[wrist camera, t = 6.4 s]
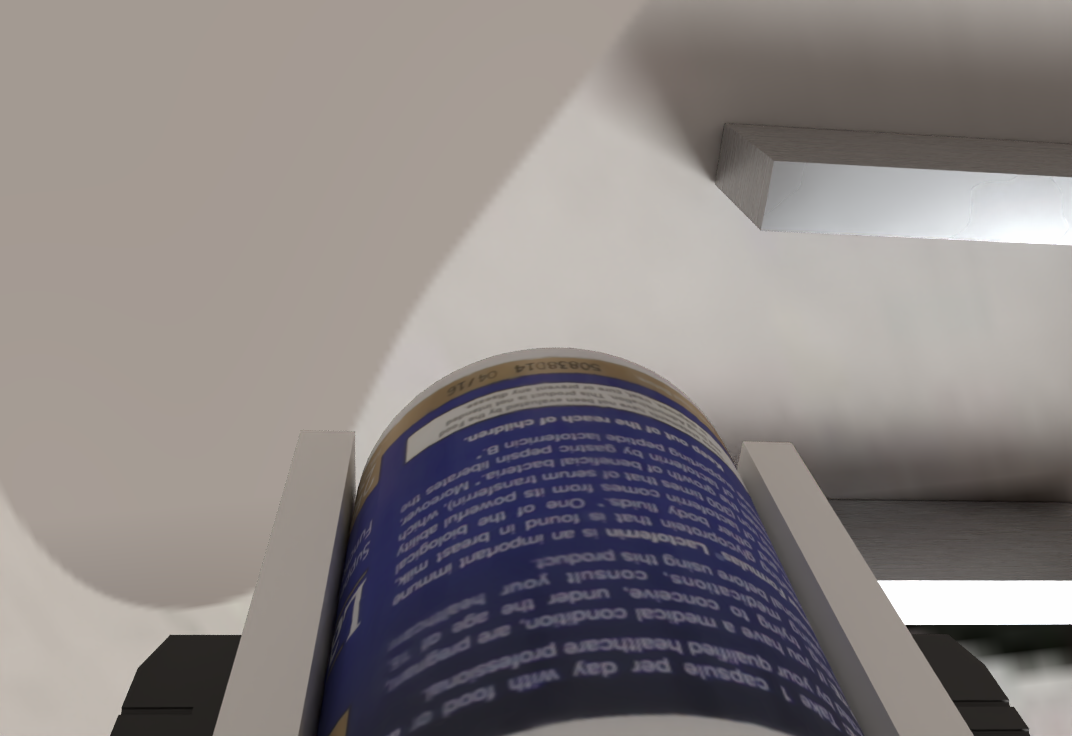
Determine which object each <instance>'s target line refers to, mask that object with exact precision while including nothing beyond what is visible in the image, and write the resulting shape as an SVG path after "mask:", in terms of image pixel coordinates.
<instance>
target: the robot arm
mask: <svg viewBox="0 0 1072 736" xmlns="http://www.w3.org/2000/svg"><path fill="white" fill-rule="evenodd" d="M737 471H738V473H739V475H740V477H741V479H742V481H743V482H744V484H745V486H746V488H747V490H748V492H749V495H750V497H751V499H752V502H753V504H754V506H755V508H756V511H757V513H758V515H759V517H760V519H761V521H762V524H763V526H764V528H765V530H766V532H767V534H768V537H769V539H770V541H771V543H772V545H773V547H774V549H775V551H776V554H777V556H778V558H779V560H780V562H781V564H782V566H783V568H784V570H785V572H786V575H787V577H788V579H789V581H790V583H791V585H792V587H793V589H794V592H795V594H796V596H797V598H798V600H799V602H800V604H801V607H802V609H803V611H804V613H805V615H806V617H807V619H808V621H809V623H810V625H811V627H812V629H813V631H814V633H815V635H816V638H817V640H818V642H819V644H820V647H821V649H822V651H823V653H824V655H825V657H826V659H827V661H828V663H829V665H830V667H831V669H832V671H833V673H834V675H835V677H836V679H837V681H838V683H839V685H840V688H841V690H842V692H843V694H844V696H845V698H846V700H847V702H848V704H849V707H850V709H851V711H852V713H853V715H854V716H855V718H856V720H857V722H858V724H859V726H860V727H861V729H862V731H863V734H864V736H1030V734H1029V728H1028V727H1027V725H1026V724H1025V722H1024V721H1023V719H1022V718H1021V717H1020V715H1019V714H1018V712H1017V711H1016V709H1015V708H1014V707H1010V706H1009V699H1008V698H1007V696H1006V695H1005V693H1004V692H1003V691H1002V689H1001V688H1000V686H999V685H998V683H997V682H996V680H995V679H994V678H993V676H992V675H991V673H990V672H989V670H988V669H987V668H986V666H985V665H984V664H983V663H982V662H981V661H979V660H978V659H977V658H976V657H975V656H973V655H972V654H971V653H970V652H969V651H967V650H966V649H965V648H964V647H962V646H961V645H960V644H959V643H958V642H956V641H955V640H954V639H953V638H952V637H950V636H949V635H948V634H910V632H909V631H908V629H907V627H906V626H905V624H904V623H903V621H902V619H901V618H900V616H899V615H898V613H897V611H896V610H895V608H894V607H893V605H892V603H891V602H890V600H889V598H888V597H887V595H886V594H885V592H884V590H883V589H882V587H881V586H880V584H879V582H878V581H877V579H876V578H875V576H874V574H873V573H872V571H871V570H870V568H869V566H868V565H867V563H866V562H865V560H864V558H863V557H862V555H861V553H860V552H859V550H858V549H857V547H856V545H855V544H854V542H853V541H852V539H851V537H850V536H849V534H848V533H847V531H846V529H845V528H844V526H843V525H842V523H841V521H840V520H839V518H838V517H837V515H836V513H835V512H834V510H833V508H832V507H831V505H830V504H829V502H828V500H827V499H826V497H825V496H824V494H823V492H822V491H821V489H820V488H819V486H818V484H817V483H816V481H815V480H814V478H813V476H812V475H811V473H810V472H809V470H808V468H807V467H806V465H805V463H804V462H803V460H802V459H801V457H800V455H799V454H798V452H797V451H796V449H795V447H794V446H793V444H792V443H789V442H750V441H743V442H742V447H741V452H740V457H739V462H738V467H737ZM355 500H356V486H355V432H352V431H311V430H301V432H300V435H299V439H298V442H297V446H296V449H295V453H294V456H293V460H292V463H291V466H290V470H289V473H288V477H287V480H286V484H285V487H284V491H283V494H282V497H281V501H280V504H279V508H278V511H277V515H276V518H275V522H274V525H273V529H272V532H271V536H270V539H269V542H268V546H267V549H266V553H265V556H264V560H263V563H262V567H261V570H260V574H259V577H258V581H257V584H256V587H255V591H254V594H253V598H252V601H251V605H250V608H249V612H248V615H247V619H246V622H245V626H244V629H243V632H242V635H170V636H169V637H168V638H167V639H166V640H165V641H164V642H163V643H162V644H161V645H160V646H159V647H158V648H157V649H156V650H155V651H154V652H153V653H152V654H151V655H150V656H149V657H148V658H147V659H146V660H145V661H144V663H143V664H142V665H141V666H140V667H139V668H138V669H137V672H136V674H135V676H134V679H133V681H132V684H131V686H130V689H129V691H128V693H127V696H126V698H125V701H124V703H123V706H122V712H121V715H118V718H117V720H116V723H115V725H114V727H113V730H112V732H111V735H110V736H317V729H318V723H319V717H320V711H321V704H322V698H323V690H324V681H325V674H326V670H327V665H328V660H329V654H330V649H331V643H332V637H333V631H334V625H335V619H336V612H337V605H338V598H339V591H340V585H341V579H342V574H343V568H344V562H345V556H346V551H347V544H348V537H349V531H350V526H351V520H352V515H353V509H354V505H355Z"/></svg>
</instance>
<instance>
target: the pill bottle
mask: <svg viewBox="0 0 1072 736" xmlns="http://www.w3.org/2000/svg"><path fill="white" fill-rule="evenodd" d="M317 736H864V734H863V731H862V729H861V727H860V726H859V724H858V722H857V720H856V718H855V716H854V715H853V713H852V711H851V709H850V707H849V704H848V702H847V700H846V698H845V696H844V694H843V692H842V690H841V688H840V685H839V683H838V681H837V679H836V677H835V675H834V673H833V671H832V669H831V667H830V665H829V663H828V661H827V659H826V657H825V655H824V653H823V651H822V649H821V647H820V644H819V642H818V640H817V638H816V635H815V633H814V631H813V629H812V627H811V625H810V623H809V621H808V619H807V617H806V615H805V613H804V611H803V609H802V607H801V604H800V602H799V600H798V598H797V596H796V594H795V592H794V589H793V587H792V585H791V583H790V581H789V579H788V577H787V575H786V572H785V570H784V568H783V566H782V564H781V562H780V560H779V558H778V556H777V554H776V551H775V549H774V547H773V545H772V543H771V541H770V539H769V537H768V534H767V532H766V530H765V528H764V526H763V524H762V521H761V519H760V517H759V515H758V513H757V511H756V508H755V506H754V504H753V502H752V499H751V497H750V495H749V492H748V490H747V488H746V486H745V484H744V482H743V481H742V479H741V477H740V475H739V473H738V471H737V469H736V467H735V465H734V463H733V460H732V459H731V457H730V455H729V453H728V451H727V449H726V447H725V445H724V443H723V441H722V440H721V438H720V437H719V435H718V434H717V432H716V431H715V429H714V427H713V426H712V424H711V423H710V421H709V420H708V419H707V417H706V416H705V415H704V413H703V412H702V411H701V410H700V409H699V407H698V406H697V405H696V404H695V403H694V402H693V401H692V400H691V399H690V398H689V397H688V396H686V395H685V394H684V393H683V392H682V391H681V390H680V389H678V388H677V387H676V386H674V385H673V384H672V383H670V382H669V381H667V380H666V379H664V378H663V377H661V376H659V375H658V374H656V373H655V372H653V371H651V370H649V369H647V368H644V367H642V366H640V365H638V364H636V363H633V362H631V361H628V360H625V359H623V358H620V357H616V356H612V355H609V354H605V353H601V352H595V351H589V350H582V349H575V348H537V349H528V350H521V351H515V352H510V353H504V354H500V355H496V356H492V357H489V358H486V359H483V360H481V361H478V362H475V363H473V364H470V365H468V366H465V367H463V368H461V369H459V370H457V371H455V372H452V373H450V374H449V375H447V376H445V377H444V378H442V379H440V380H439V381H437V382H435V383H434V384H432V385H431V386H430V387H428V388H427V389H426V390H424V391H423V392H421V393H420V394H419V395H418V396H416V397H415V398H414V399H413V400H412V401H411V402H410V403H409V404H408V405H407V406H406V407H405V408H404V409H403V410H402V411H401V412H400V413H399V414H398V415H397V416H396V417H395V418H394V419H393V421H392V422H391V423H390V424H389V426H388V427H387V428H386V430H385V431H384V432H383V434H382V435H381V437H380V438H379V440H378V441H377V443H376V445H375V447H374V448H373V450H372V452H371V454H370V456H369V458H368V460H367V463H366V465H365V468H364V470H363V473H362V477H361V480H360V483H359V486H358V491H357V495H356V500H355V505H354V509H353V515H352V520H351V526H350V531H349V537H348V544H347V551H346V556H345V562H344V568H343V574H342V579H341V585H340V591H339V598H338V605H337V612H336V619H335V625H334V631H333V637H332V643H331V649H330V654H329V660H328V665H327V670H326V674H325V681H324V690H323V698H322V704H321V711H320V717H319V723H318V729H317Z"/></svg>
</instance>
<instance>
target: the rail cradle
mask: <svg viewBox="0 0 1072 736" xmlns="http://www.w3.org/2000/svg"><path fill="white" fill-rule="evenodd" d="M715 185H716V186H717V187H718V188H719V189H720V190H721V191H722V192H723V193H724V194H725V195H726V196H727V197H728V198H729V199H730V200H731V201H732V202H733V203H734V204H735V205H736V206H737V207H738V208H739V209H740V210H741V211H742V212H743V213H744V214H745V215H746V216H747V217H748V218H749V219H750V220H751V221H752V222H753V223H754V224H755V225H756V226H757V227H758V228H759V229H760V230H761V231H778V232H799V233H821V234H842V235H864V236H885V237H907V238H928V239H950V240H972V241H993V242H1015V243H1036V244H1058V245H1072V144H1062V143H1045V142H1028V141H1012V140H995V139H978V138H962V137H945V136H928V135H912V134H895V133H878V132H862V131H845V130H828V129H812V128H795V127H778V126H761V125H745V124H728V123H725V125H724V131H723V137H722V143H721V149H720V155H719V162H718V168H717V174H716V180H715ZM828 502H829V504H830V505H831V507H832V508H833V510H834V512H835V513H836V515H837V517H838V518H839V520H840V521H841V523H842V525H843V526H844V528H845V529H846V531H847V533H848V534H849V536H850V537H851V539H852V541H853V542H854V544H855V545H856V547H857V549H858V550H859V552H860V553H861V555H862V557H863V558H864V560H865V562H866V563H867V565H868V566H869V568H870V570H871V571H872V573H873V574H874V576H875V578H876V579H877V581H878V582H879V584H880V586H881V587H882V589H883V590H884V592H885V594H886V595H887V597H888V598H889V600H890V602H891V603H892V605H893V607H894V608H895V610H896V611H897V613H898V615H899V616H900V618H901V619H902V621H903V623H904V624H905V625H936V624H1072V503H1052V502H970V501H887V500H828Z"/></svg>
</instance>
